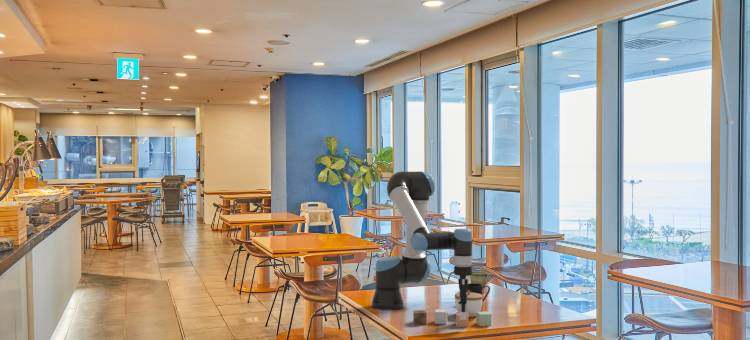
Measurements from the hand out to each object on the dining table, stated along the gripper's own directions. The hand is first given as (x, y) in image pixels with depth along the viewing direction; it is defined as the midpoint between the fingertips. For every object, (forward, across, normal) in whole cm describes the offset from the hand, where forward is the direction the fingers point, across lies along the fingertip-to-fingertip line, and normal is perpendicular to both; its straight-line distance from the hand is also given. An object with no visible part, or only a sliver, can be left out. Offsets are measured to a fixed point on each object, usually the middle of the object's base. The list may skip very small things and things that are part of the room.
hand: (463, 316), depth 268 cm
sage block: (+4, +3, -9) cm, 10 cm away
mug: (+4, +44, -8) cm, 45 cm away
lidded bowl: (+4, +20, -3) cm, 21 cm away
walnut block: (+4, +1, +18) cm, 19 cm away
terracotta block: (+4, 0, 0) cm, 4 cm away
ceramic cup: (+3, +80, -11) cm, 81 cm away
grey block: (+4, +4, +9) cm, 11 cm away
